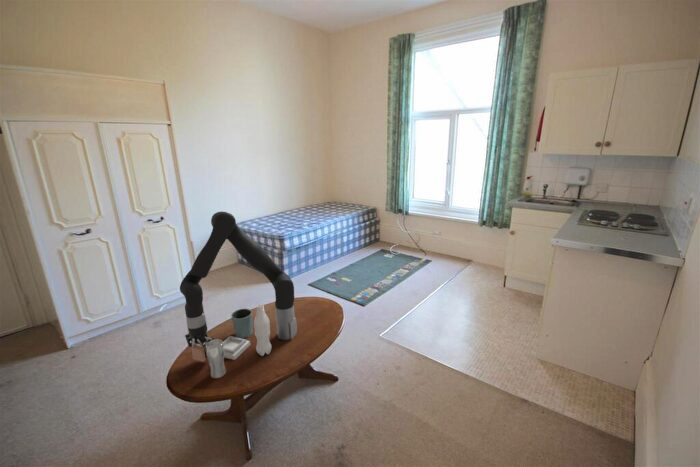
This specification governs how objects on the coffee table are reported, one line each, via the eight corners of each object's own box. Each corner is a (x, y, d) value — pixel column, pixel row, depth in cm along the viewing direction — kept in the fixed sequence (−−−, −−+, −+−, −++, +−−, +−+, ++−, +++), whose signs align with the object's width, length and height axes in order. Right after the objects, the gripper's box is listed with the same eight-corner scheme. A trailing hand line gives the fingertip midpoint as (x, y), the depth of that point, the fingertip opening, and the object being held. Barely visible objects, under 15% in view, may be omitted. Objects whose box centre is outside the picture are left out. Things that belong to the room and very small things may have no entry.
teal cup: (254, 337, 164) (252, 316, 161) (233, 341, 161) (231, 320, 157) (253, 326, 173) (251, 307, 170) (233, 330, 170) (231, 310, 166)
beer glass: (212, 368, 141) (208, 339, 137) (228, 367, 142) (225, 338, 138) (207, 379, 135) (202, 349, 130) (224, 378, 135) (220, 348, 131)
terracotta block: (211, 354, 146) (210, 342, 144) (203, 361, 141) (201, 350, 139) (202, 351, 148) (200, 340, 146) (193, 359, 143) (191, 347, 141)
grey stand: (250, 344, 158) (249, 338, 157) (234, 359, 147) (234, 353, 146) (230, 340, 161) (229, 334, 160) (213, 354, 150) (212, 348, 149)
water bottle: (258, 359, 147) (253, 311, 140) (255, 350, 153) (250, 304, 146) (273, 354, 150) (269, 307, 143) (269, 346, 157) (266, 300, 150)
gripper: (216, 321, 141) (221, 353, 145) (190, 316, 145) (196, 347, 150) (203, 330, 134) (209, 364, 139) (177, 325, 138) (183, 357, 143)
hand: (202, 355), depth 144 cm, fingers closed on terracotta block, 5 cm apart
